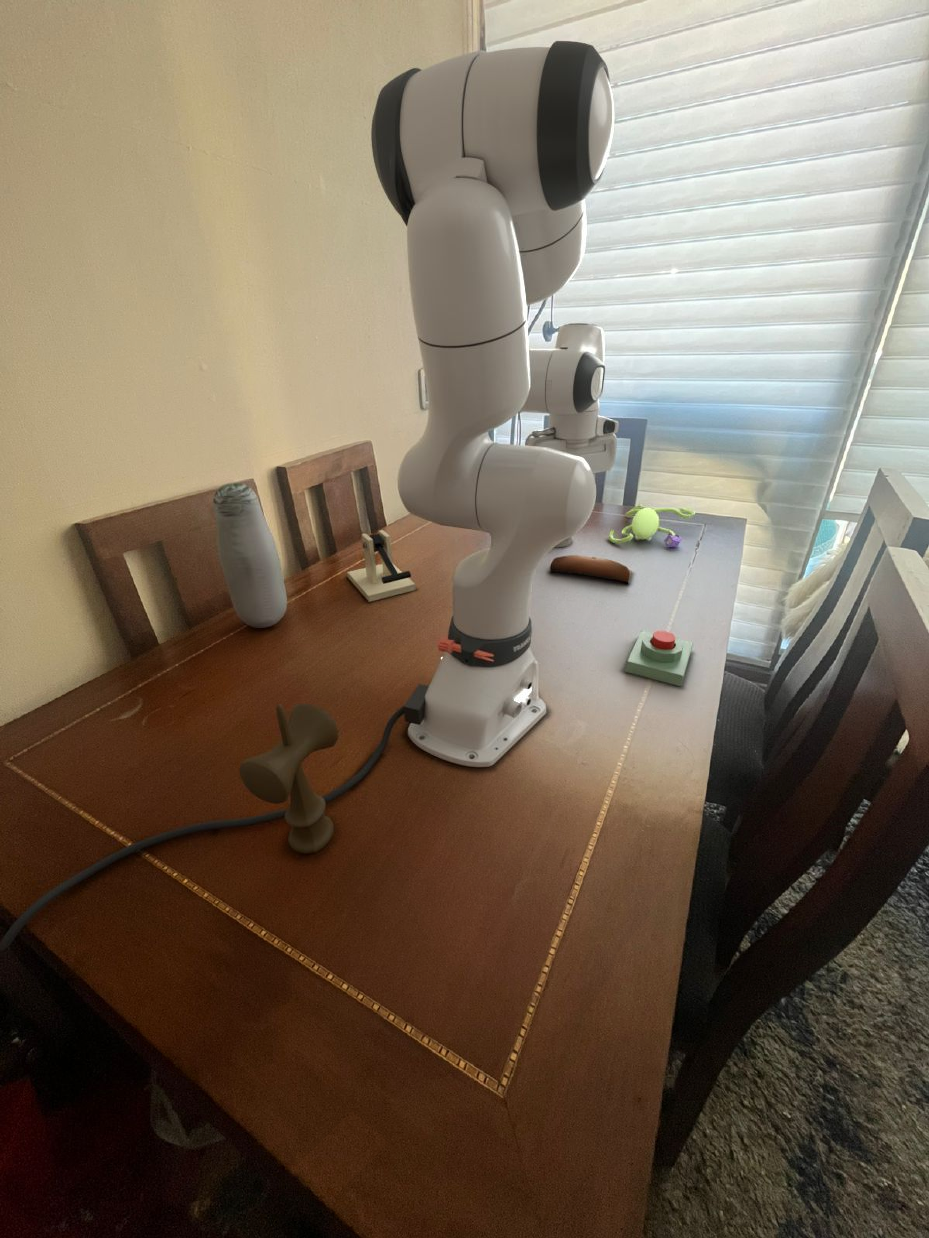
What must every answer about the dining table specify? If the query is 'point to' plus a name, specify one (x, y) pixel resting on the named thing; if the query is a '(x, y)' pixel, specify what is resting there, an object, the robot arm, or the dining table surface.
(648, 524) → the figurine
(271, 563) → the grey bottle
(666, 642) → the stop button
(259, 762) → the kendama
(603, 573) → the sunglasses case
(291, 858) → the dining table surface
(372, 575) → the switch bracket
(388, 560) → the switch lever
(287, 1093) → the dining table surface
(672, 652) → the stop box
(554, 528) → the robot arm
